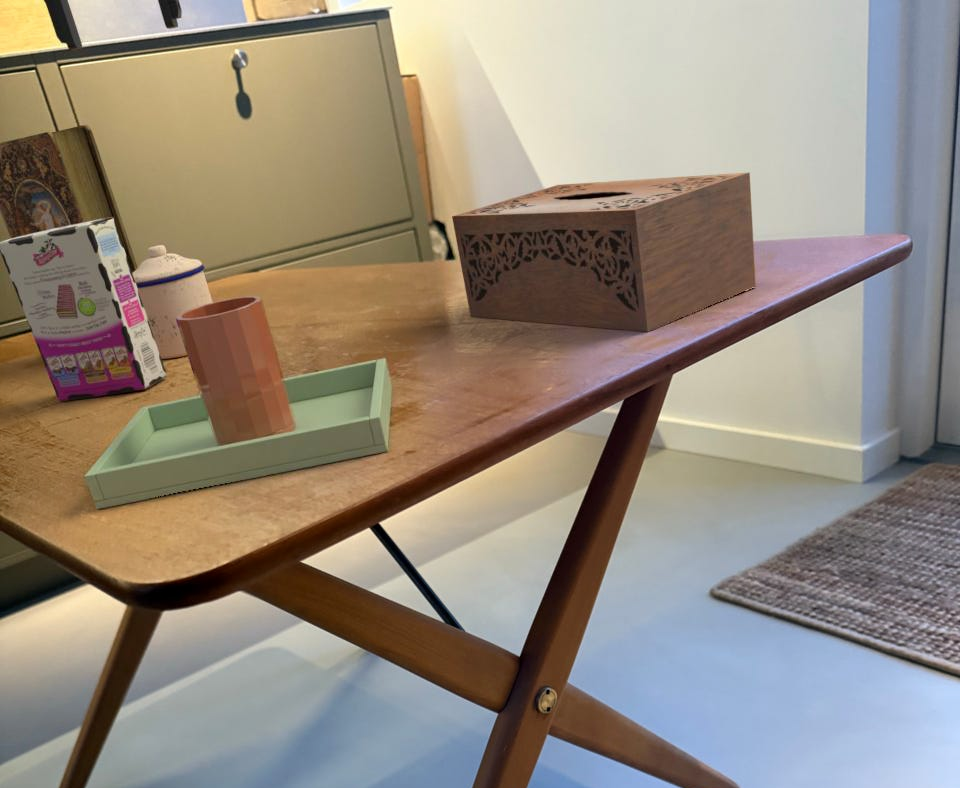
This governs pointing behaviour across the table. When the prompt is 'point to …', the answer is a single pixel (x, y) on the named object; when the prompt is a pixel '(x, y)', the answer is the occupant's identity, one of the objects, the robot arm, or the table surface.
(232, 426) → the cup
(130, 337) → the candy bar box
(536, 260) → the tissue box cover
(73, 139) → the book
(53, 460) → the table surface
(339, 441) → the tray
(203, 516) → the table surface
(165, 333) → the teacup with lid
